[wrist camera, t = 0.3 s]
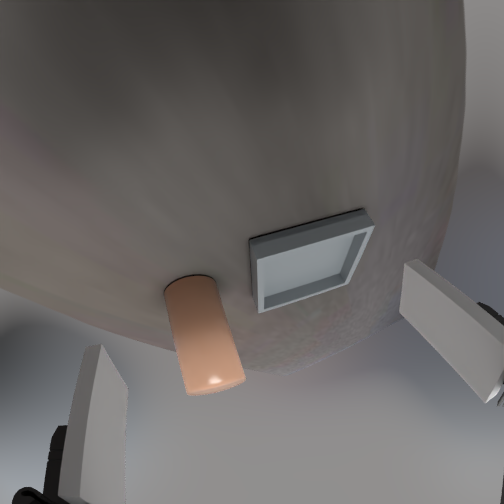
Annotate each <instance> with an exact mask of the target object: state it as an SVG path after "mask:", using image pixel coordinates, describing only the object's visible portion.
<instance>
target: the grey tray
mask: <svg viewBox="0 0 504 504" xmlns="http://www.w3.org/2000/svg"><path fill="white" fill-rule="evenodd" d="M374 226H375V224H374V223H373V221H372V220H371V218H370V217H369V215H368V214H367V212H366V211H365V209H362V210H358V211H354V212H351V213H347V214H343V215H339V216H336V217H332V218H328V219H324V220H321V221H317V222H313V223H310V224H306V225H302V226H299V227H295V228H291V229H288V230H284V231H280V232H277V233H273V234H269V235H266V236H262V237H258V238H255V239H251V240H249V244H250V260H251V277H252V293H253V300H254V303H255V305H256V308H257V311H258V313H262V312H265V311H268V310H271V309H274V308H278V307H281V306H284V305H287V304H290V303H293V302H296V301H299V300H302V299H305V298H308V297H311V296H314V295H317V294H320V293H323V292H326V291H329V290H332V289H335V288H338V287H341V286H343V285H346V284H348V283H349V281H350V279H351V277H352V275H353V273H354V271H355V269H356V266H357V264H358V262H359V260H360V258H361V256H362V253H363V251H364V249H365V247H366V245H367V242H368V240H369V238H370V236H371V233H372V231H373V229H374Z"/></svg>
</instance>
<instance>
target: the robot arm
mask: <svg viewBox="0 0 504 504" xmlns="http://www.w3.org/2000/svg"><path fill="white" fill-rule="evenodd" d="M399 312H400V313H401V314H402V315H403V316H404V317H405V318H406V319H407V320H408V321H409V322H410V323H411V325H412V326H413V327H414V328H415V329H416V330H417V331H418V332H419V333H420V334H421V335H422V336H423V337H424V338H425V339H426V340H427V341H428V342H429V343H430V344H431V345H432V346H433V347H434V348H435V349H436V350H437V351H438V352H439V353H440V355H441V356H442V357H443V358H444V359H445V360H446V361H447V362H448V363H449V364H450V365H451V366H452V367H453V368H454V370H455V371H456V372H457V373H458V374H459V375H460V376H461V377H462V378H463V379H464V380H465V382H466V383H467V384H468V385H469V386H470V387H471V388H472V389H473V390H474V392H475V393H476V394H477V395H478V396H479V397H480V398H481V399H482V401H483V402H484V403H486V402H487V401H489V400H490V399H491V398H493V397H494V396H495V395H496V394H497V393H498V391H499V390H500V388H501V386H502V384H504V318H503V317H502V316H501V315H498V313H497V312H496V311H495V310H493V309H492V308H491V307H489V306H487V305H485V304H483V303H480V302H479V303H475V302H474V301H473V300H471V299H470V298H469V297H467V296H466V295H465V294H464V293H462V292H461V291H460V290H459V289H457V288H456V287H454V286H453V285H452V284H451V283H449V282H448V281H447V280H445V279H444V278H443V277H441V276H440V275H439V274H437V273H436V272H435V271H433V270H432V269H431V268H429V267H428V266H426V265H425V264H424V263H422V262H421V261H420V260H418V259H415V260H412V261H409V262H406V263H405V264H404V275H403V284H402V293H401V302H400V309H399ZM127 399H128V388H127V386H126V384H125V383H124V381H123V379H122V378H121V376H120V374H119V373H118V371H117V369H116V368H115V366H114V365H113V363H112V361H111V359H110V357H109V356H108V354H107V352H106V351H105V349H104V347H103V345H102V344H98V345H93V346H88V347H86V348H85V352H84V355H83V360H82V363H81V367H80V371H79V375H78V379H77V384H76V388H75V392H74V396H73V401H72V406H71V411H70V416H69V421H68V425H64V426H58V428H57V429H56V431H55V433H54V434H53V436H52V439H51V444H50V452H49V456H48V460H49V461H48V462H47V468H46V475H45V482H44V490H43V494H42V493H40V492H39V491H37V490H36V489H34V488H32V487H24V488H22V489H20V490H18V491H17V493H16V494H15V495H14V498H13V500H12V504H126V498H125V441H126V440H125V439H126V417H127ZM503 400H504V392H503V394H502V396H501V397H500V399H499V401H498V404H497V406H500V405H501V403H502V401H503ZM503 406H504V404H503ZM500 504H504V478H503V487H502V496H501V503H500Z"/></svg>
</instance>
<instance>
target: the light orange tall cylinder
mask: <svg viewBox="0 0 504 504" xmlns="http://www.w3.org/2000/svg"><path fill="white" fill-rule="evenodd" d="M164 297H165V302H166V307H167V311H168V316H169V321H170V325H171V330H172V334H173V339H174V343H175V347H176V352H177V356H178V360H179V364H180V368H181V372H182V376H183V379H184V383H185V387H186V391H187V394H188V395H195V396H196V395H206V394H211V393H216V392H220V391H223V390H226V389H229V388H232V387H235V386H237V385H239V384H241V383H243V382H244V381H245V380H246V377H245V374H244V371H243V368H242V365H241V362H240V359H239V356H238V353H237V350H236V347H235V343H234V340H233V337H232V334H231V331H230V328H229V324H228V321H227V318H226V315H225V311H224V308H223V305H222V302H221V298H220V295H219V292H218V288H217V285H216V282H215V281H214V280H213V279H212V278H210V277H206V276H190V277H185V278H182V279H180V280H177V281H175V282H173V283H172V284H170V285H169V286H168V287H167V288H166V290H165V292H164Z"/></svg>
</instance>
